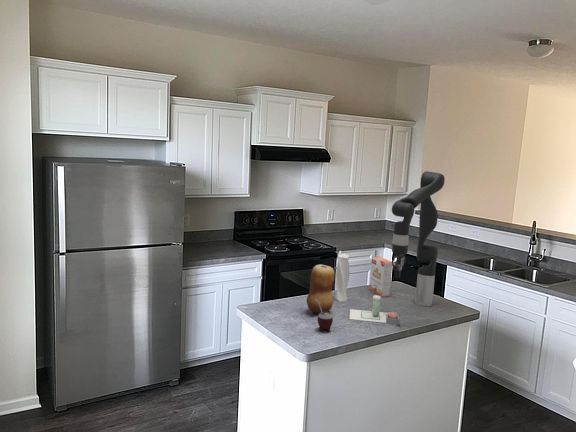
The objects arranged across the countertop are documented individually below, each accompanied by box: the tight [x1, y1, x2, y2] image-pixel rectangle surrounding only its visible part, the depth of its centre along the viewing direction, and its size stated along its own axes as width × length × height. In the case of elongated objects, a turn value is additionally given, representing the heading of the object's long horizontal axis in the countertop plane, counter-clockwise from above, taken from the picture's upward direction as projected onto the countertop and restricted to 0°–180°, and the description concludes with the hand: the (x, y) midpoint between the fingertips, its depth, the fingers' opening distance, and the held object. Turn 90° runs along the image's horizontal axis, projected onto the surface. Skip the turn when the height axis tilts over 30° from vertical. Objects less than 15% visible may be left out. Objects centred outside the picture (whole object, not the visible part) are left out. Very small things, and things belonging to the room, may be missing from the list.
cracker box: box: [369, 255, 393, 298], centre depth 280 cm, size 14×6×21 cm, turn 21°
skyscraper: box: [334, 250, 351, 302], centre depth 262 cm, size 8×8×28 cm
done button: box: [388, 311, 398, 319], centre depth 234 cm, size 4×4×3 cm
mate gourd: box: [314, 299, 334, 333], centre depth 220 cm, size 8×8×15 cm
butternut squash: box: [305, 264, 336, 315], centre depth 241 cm, size 14×13×25 cm
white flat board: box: [348, 308, 401, 327], centre depth 240 cm, size 16×25×3 cm, turn 81°
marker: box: [371, 294, 382, 317], centre depth 240 cm, size 4×4×10 cm
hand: (397, 277), depth 234 cm, fingers closed
